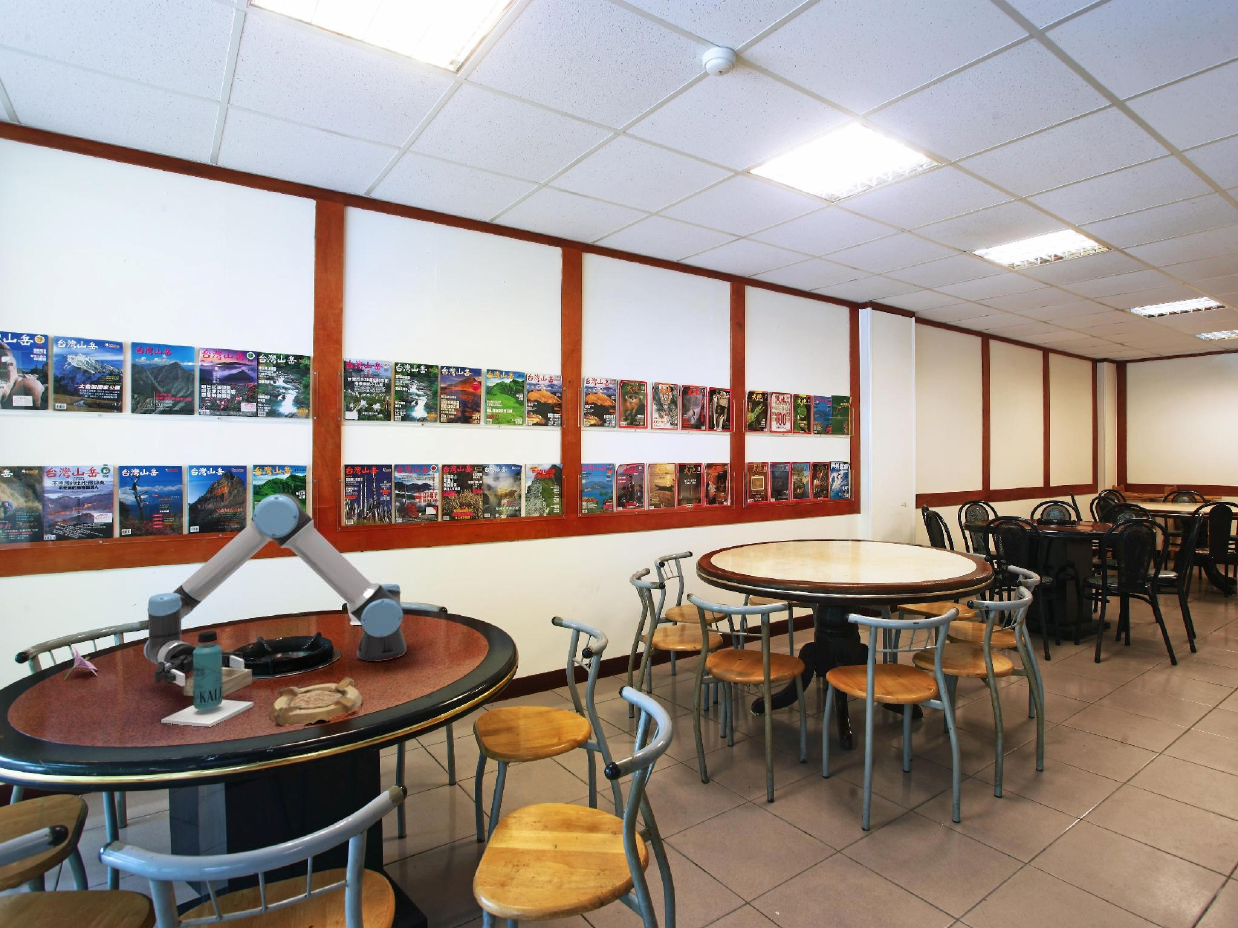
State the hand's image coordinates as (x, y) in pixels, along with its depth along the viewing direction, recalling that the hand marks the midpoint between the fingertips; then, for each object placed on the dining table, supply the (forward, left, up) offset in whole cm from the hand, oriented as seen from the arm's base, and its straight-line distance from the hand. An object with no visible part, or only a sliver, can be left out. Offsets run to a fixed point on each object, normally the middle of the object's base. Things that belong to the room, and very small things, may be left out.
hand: (214, 672), depth 165 cm
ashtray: (-21, -10, -12) cm, 26 cm away
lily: (+64, -19, -12) cm, 68 cm away
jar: (+17, -89, -11) cm, 92 cm away
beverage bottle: (+3, -1, -10) cm, 11 cm away
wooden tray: (+15, -17, -11) cm, 26 cm away
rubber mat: (+3, -1, -11) cm, 12 cm away
